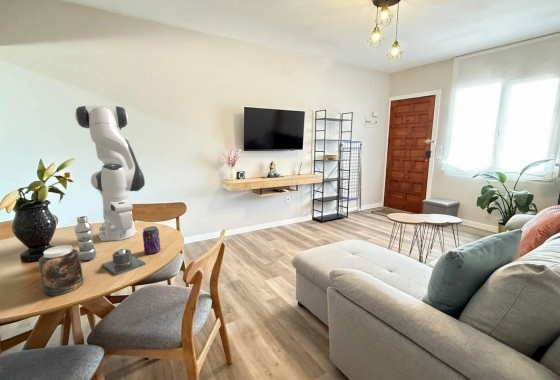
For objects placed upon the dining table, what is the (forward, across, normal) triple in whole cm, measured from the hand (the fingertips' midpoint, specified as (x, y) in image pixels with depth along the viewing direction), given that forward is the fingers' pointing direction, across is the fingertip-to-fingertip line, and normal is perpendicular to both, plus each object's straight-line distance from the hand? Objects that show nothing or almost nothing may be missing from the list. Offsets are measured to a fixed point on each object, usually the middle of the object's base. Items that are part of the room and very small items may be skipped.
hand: (118, 234), depth 113 cm
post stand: (+14, +1, +1) cm, 14 cm away
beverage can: (+14, -3, +16) cm, 21 cm away
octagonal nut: (+12, +1, +1) cm, 12 cm away
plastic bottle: (+15, -19, -6) cm, 25 cm away
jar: (+15, +2, -20) cm, 25 cm away
